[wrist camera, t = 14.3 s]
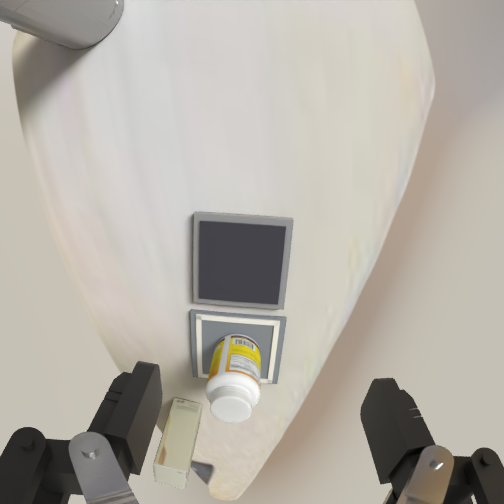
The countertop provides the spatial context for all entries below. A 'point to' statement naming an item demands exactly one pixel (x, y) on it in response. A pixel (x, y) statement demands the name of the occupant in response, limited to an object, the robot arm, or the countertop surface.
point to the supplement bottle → (234, 378)
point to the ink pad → (241, 259)
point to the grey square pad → (223, 324)
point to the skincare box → (177, 444)
